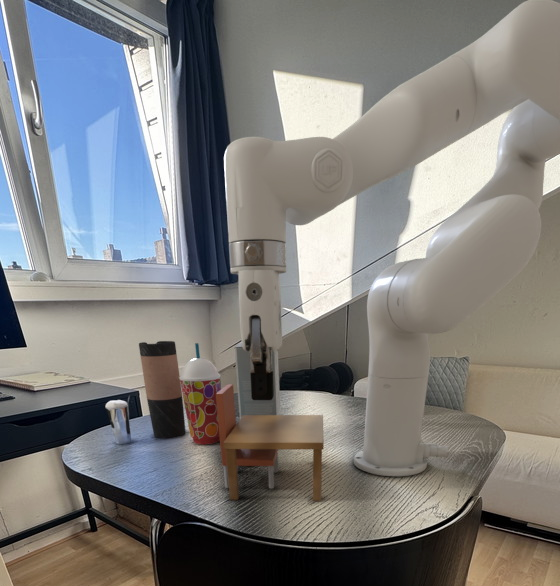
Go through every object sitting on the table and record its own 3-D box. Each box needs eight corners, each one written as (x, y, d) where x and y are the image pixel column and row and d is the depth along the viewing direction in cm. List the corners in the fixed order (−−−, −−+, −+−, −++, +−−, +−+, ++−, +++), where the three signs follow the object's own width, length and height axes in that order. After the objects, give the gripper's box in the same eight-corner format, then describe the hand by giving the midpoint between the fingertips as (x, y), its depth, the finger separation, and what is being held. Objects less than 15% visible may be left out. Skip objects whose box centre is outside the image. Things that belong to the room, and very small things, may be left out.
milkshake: (134, 444, 88) (125, 398, 84) (109, 445, 88) (99, 398, 84) (141, 438, 92) (133, 393, 88) (117, 439, 92) (108, 394, 88)
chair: (278, 470, 71) (276, 383, 65) (274, 488, 64) (271, 393, 58) (233, 470, 72) (227, 384, 66) (224, 488, 65) (215, 393, 59)
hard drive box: (248, 429, 97) (243, 339, 89) (281, 428, 97) (278, 338, 89) (240, 449, 83) (233, 345, 75) (278, 449, 83) (275, 344, 74)
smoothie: (194, 435, 94) (183, 342, 85) (230, 435, 92) (222, 341, 84) (181, 446, 86) (168, 345, 78) (220, 447, 85) (211, 344, 77)
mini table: (322, 464, 74) (323, 414, 71) (322, 501, 60) (323, 442, 56) (246, 463, 76) (242, 415, 72) (228, 500, 61) (223, 442, 57)
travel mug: (178, 439, 91) (165, 343, 82) (146, 438, 92) (131, 344, 84) (191, 430, 97) (181, 340, 89) (162, 429, 99) (149, 341, 90)
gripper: (281, 252, 48) (283, 410, 55) (289, 265, 61) (290, 390, 69) (217, 254, 48) (228, 410, 56) (240, 266, 62) (246, 390, 69)
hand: (262, 398), depth 62 cm, fingers closed
